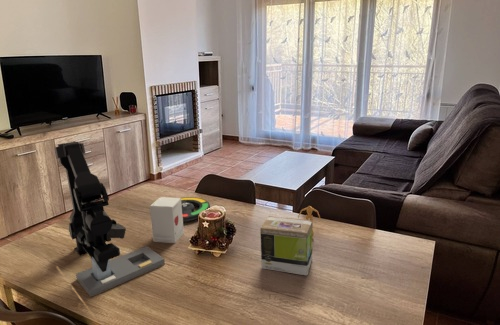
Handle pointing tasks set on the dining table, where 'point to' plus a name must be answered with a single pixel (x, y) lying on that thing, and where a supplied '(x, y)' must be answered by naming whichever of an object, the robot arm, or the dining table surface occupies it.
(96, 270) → the plug
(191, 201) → the electronic game
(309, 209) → the figurine
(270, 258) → the tea box
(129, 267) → the panel
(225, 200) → the dining table surface
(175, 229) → the supplement box
